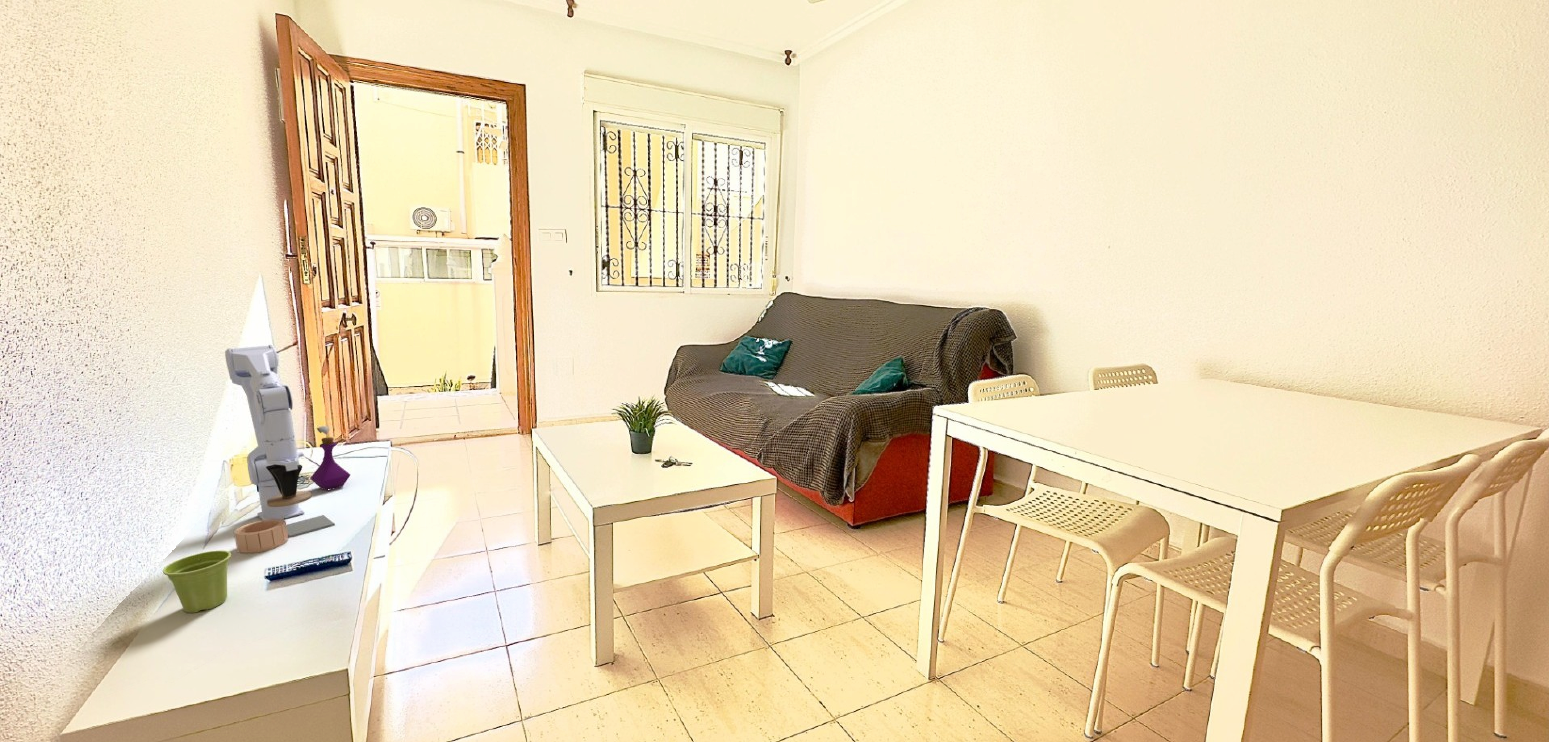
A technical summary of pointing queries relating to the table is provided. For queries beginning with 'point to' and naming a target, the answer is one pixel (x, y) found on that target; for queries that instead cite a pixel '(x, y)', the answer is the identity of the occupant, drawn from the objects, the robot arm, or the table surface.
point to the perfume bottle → (329, 466)
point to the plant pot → (200, 579)
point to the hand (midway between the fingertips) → (288, 494)
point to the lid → (289, 499)
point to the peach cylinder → (261, 536)
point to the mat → (308, 525)
